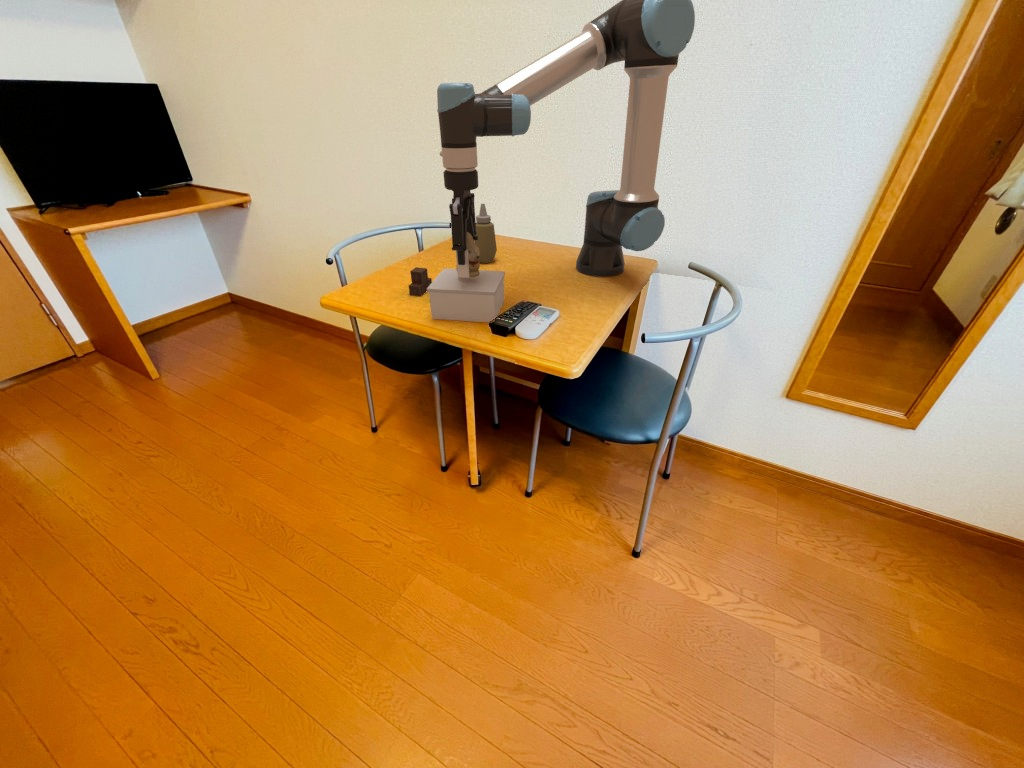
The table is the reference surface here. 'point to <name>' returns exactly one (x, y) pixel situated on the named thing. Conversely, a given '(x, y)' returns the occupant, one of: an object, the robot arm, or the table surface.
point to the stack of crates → (419, 281)
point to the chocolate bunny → (472, 256)
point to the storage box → (467, 296)
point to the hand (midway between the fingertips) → (467, 271)
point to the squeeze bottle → (485, 236)
